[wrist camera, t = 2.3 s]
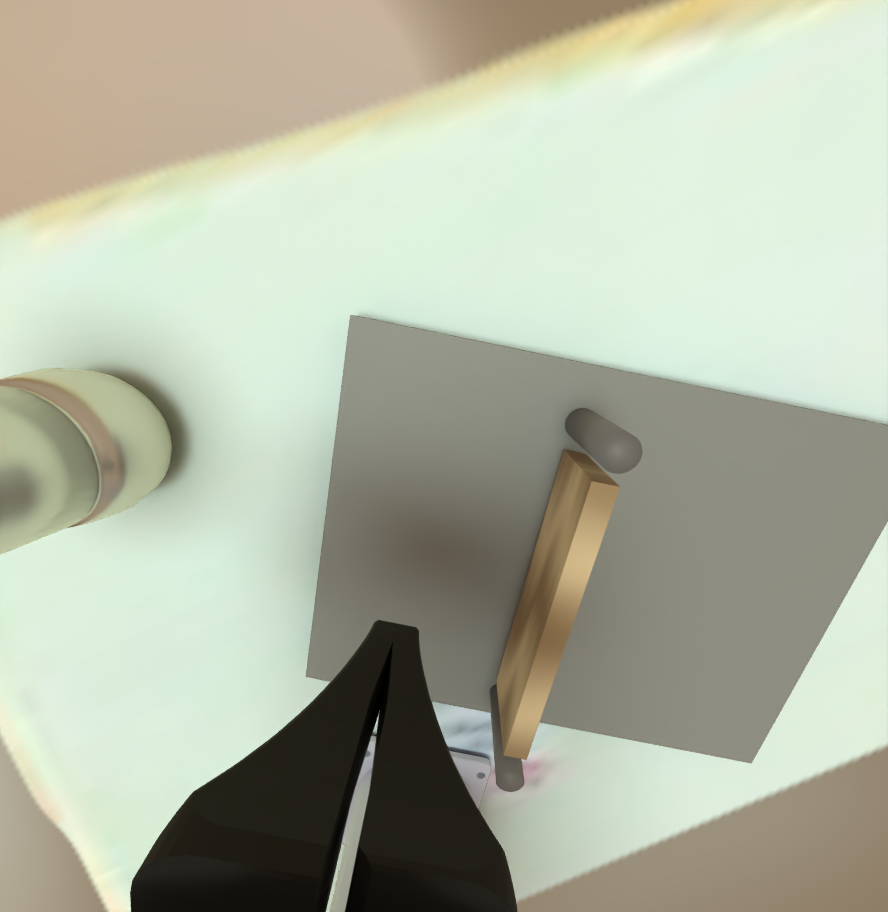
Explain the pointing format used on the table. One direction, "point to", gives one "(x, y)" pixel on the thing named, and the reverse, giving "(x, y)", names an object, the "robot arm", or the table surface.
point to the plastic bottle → (74, 451)
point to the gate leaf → (552, 595)
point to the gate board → (623, 545)
